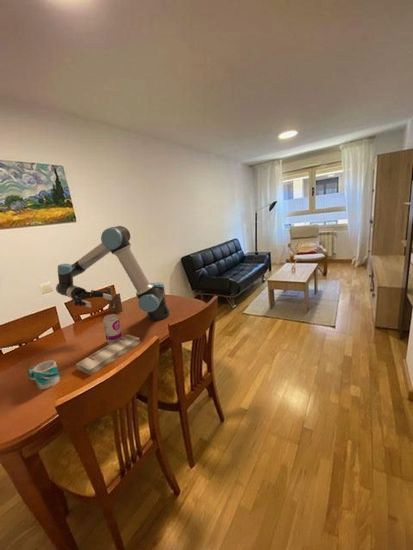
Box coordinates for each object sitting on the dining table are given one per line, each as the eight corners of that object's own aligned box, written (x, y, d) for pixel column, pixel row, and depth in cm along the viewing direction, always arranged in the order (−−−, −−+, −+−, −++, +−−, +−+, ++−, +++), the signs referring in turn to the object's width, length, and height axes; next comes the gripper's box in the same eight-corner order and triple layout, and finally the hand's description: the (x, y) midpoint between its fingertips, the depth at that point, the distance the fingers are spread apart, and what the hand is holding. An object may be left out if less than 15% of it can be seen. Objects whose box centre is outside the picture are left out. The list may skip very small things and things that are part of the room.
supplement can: (125, 338, 137) (121, 314, 133) (114, 346, 130) (110, 321, 126) (115, 336, 141) (110, 312, 137) (103, 343, 134) (98, 319, 130)
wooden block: (119, 313, 174) (115, 289, 169) (108, 311, 179) (104, 288, 174) (123, 311, 177) (119, 287, 172) (112, 309, 182) (108, 286, 177)
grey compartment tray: (127, 338, 137) (126, 333, 136) (140, 342, 132) (139, 337, 131) (77, 369, 112) (76, 363, 112) (90, 375, 107) (89, 369, 107)
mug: (48, 390, 100) (44, 372, 98) (25, 387, 103) (19, 370, 100) (63, 376, 108) (59, 360, 106) (41, 374, 110) (36, 358, 108)
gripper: (95, 293, 155) (119, 301, 146) (56, 305, 134) (81, 315, 125) (94, 282, 153) (118, 289, 144) (55, 292, 132) (80, 301, 123)
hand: (101, 301), depth 134 cm, fingers open, 13 cm apart
